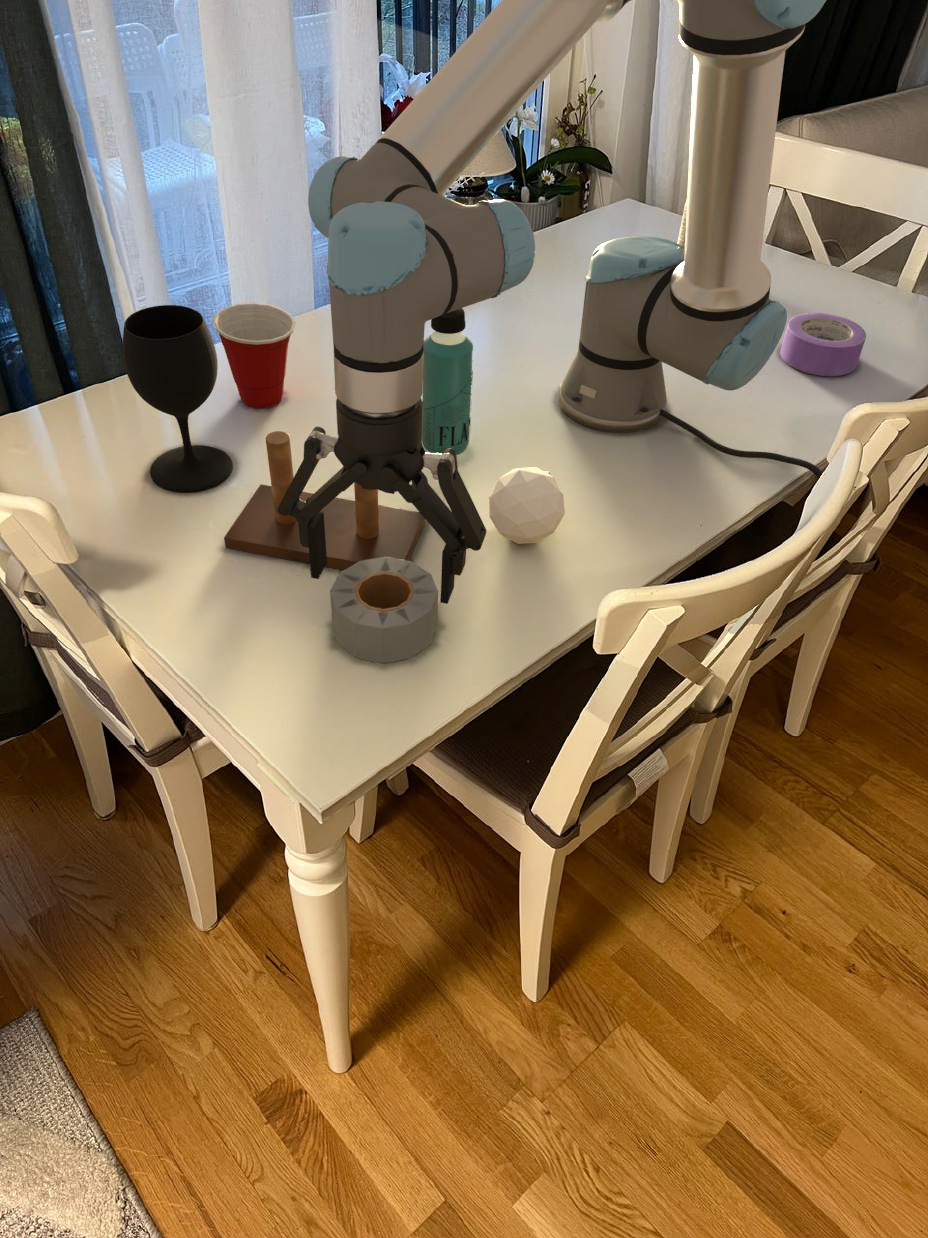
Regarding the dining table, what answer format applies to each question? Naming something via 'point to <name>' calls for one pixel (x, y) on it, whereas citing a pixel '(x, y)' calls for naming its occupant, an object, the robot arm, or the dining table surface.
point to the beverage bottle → (447, 385)
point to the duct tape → (384, 609)
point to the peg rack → (347, 522)
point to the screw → (683, 231)
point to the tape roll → (822, 344)
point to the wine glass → (176, 389)
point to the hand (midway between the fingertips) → (382, 582)
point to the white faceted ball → (526, 505)
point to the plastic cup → (256, 350)
